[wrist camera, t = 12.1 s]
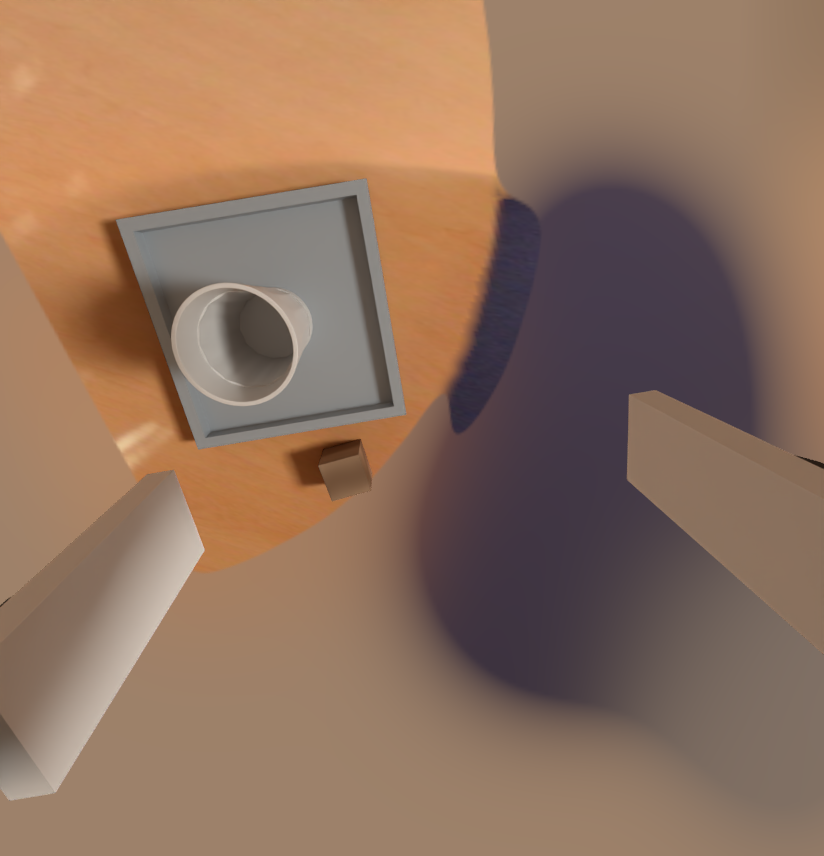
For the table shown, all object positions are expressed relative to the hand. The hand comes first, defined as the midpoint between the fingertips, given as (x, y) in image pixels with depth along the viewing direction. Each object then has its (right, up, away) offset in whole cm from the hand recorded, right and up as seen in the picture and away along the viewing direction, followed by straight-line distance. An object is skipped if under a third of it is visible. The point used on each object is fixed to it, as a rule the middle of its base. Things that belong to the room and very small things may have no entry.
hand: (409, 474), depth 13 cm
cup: (-12, +11, +27) cm, 32 cm away
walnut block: (-7, -2, +33) cm, 34 cm away
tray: (-12, +11, +28) cm, 32 cm away
